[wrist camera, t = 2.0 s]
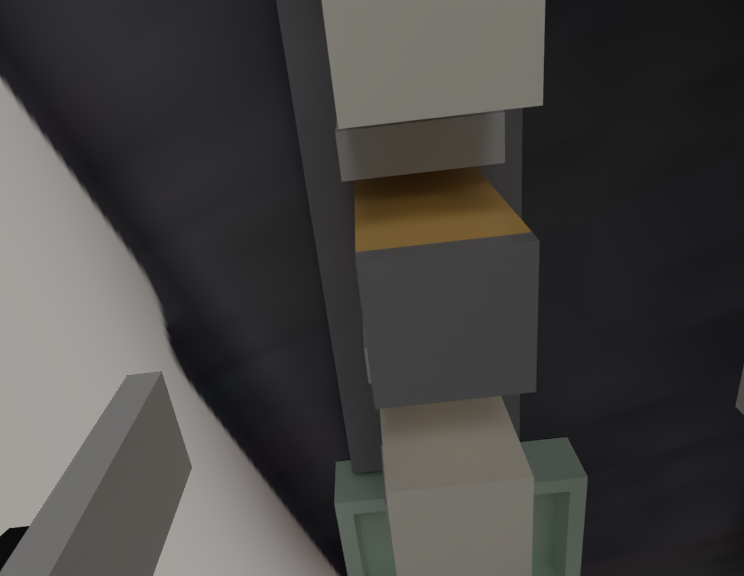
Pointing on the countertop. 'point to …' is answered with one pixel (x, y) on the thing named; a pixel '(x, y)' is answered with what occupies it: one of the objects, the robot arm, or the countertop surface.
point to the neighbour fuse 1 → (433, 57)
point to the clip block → (337, 205)
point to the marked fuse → (445, 288)
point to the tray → (550, 513)
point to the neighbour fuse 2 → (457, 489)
